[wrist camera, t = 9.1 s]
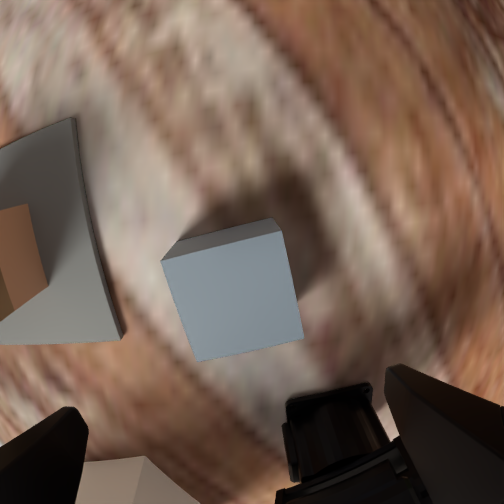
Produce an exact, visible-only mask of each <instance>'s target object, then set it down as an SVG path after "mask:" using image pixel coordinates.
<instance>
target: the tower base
mask: <svg viewBox="0 0 504 504" xmlns="http://www.w3.org/2000/svg"><path fill="white" fill-rule="evenodd" d="M0 269H1V272H2V275H3V279H4V282H5V285H6V288H7V291H8V294H9V297H10V300H11V302H12V305H13V308H14V310H15V311H14V312H13V313H11V314H10V315H9V316H7V317H6V318H5V319H4V320H2V321H1V322H0V345H29V344H67V343H88V342H105V341H119V340H121V339H122V338H123V333H122V330H121V327H120V324H119V321H118V318H117V315H116V312H115V309H114V306H113V303H112V300H111V296H110V293H109V290H108V286H107V283H106V279H105V276H104V272H103V268H102V265H101V261H100V257H99V253H98V249H97V245H96V241H95V237H94V232H93V228H92V223H91V219H90V214H89V209H88V204H87V199H86V193H85V188H84V182H83V176H82V169H81V162H80V155H79V147H78V139H77V130H76V120H75V118H71V117H70V118H68V119H65V120H63V121H60V122H58V123H55V124H53V125H51V126H48V127H46V128H43V129H41V130H39V131H37V132H34V133H32V134H30V135H28V136H26V137H24V138H21V139H19V140H17V141H15V142H13V143H11V144H9V145H7V146H5V147H3V148H1V149H0Z"/></svg>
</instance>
